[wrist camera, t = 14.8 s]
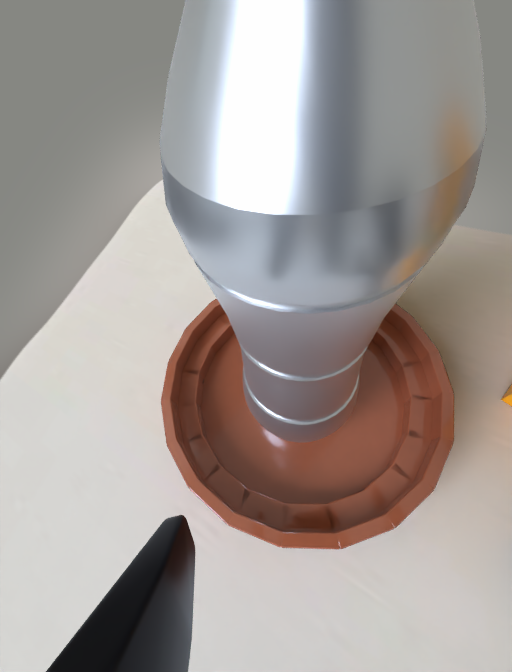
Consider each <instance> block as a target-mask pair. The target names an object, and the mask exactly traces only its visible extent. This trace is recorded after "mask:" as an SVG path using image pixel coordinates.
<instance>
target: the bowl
mask: <svg viewBox="0 0 512 672" xmlns="http://www.w3.org/2000/svg"><path fill="white" fill-rule="evenodd" d="M453 393H454V392H453V389H452V386H451V384H450V381H449V378H448V375H447V372H446V370H445V367H444V364H443V361H442V358H441V356H440V353H439V351H438V349H437V348H436V346H435V345H434V344H433V342H432V341H431V340H430V339H429V337H428V336H427V335H426V333H425V332H424V331H423V329H422V328H421V327H420V325H419V324H418V323H417V321H416V320H415V319H414V317H412V316H411V315H410V314H409V313H407V312H406V311H405V310H404V309H402V308H401V307H400V306H398V305H397V304H396V303H395V305H394V306H393V307H392V308H391V310H390V311H389V312H388V314H387V315H386V316H385V317H384V319H383V321H382V322H381V324H380V326H379V328H378V330H377V331H376V333H375V335H374V337H373V339H372V340H371V342H370V344H369V345H368V347H367V349H366V351H365V353H364V355H363V359H362V363H361V367H360V371H359V389H358V395H357V399H356V404H355V406H354V409H353V411H352V413H351V415H350V416H349V418H348V419H347V420H346V422H345V423H344V424H343V425H342V426H341V427H340V428H339V429H338V430H336V431H335V432H334V433H332V434H330V435H328V436H326V437H324V438H322V439H319V440H315V441H312V442H300V443H298V442H292V441H287V440H285V439H282V438H279V437H277V436H276V435H274V434H273V433H271V432H269V431H268V430H266V429H265V428H264V427H263V426H262V425H261V424H260V423H259V422H258V421H257V420H256V419H255V417H254V416H253V414H252V413H251V412H250V410H249V407H248V405H247V402H246V400H245V395H244V390H243V359H242V352H241V347H240V344H239V342H238V340H237V337H236V335H235V332H234V330H233V328H232V325H231V323H230V321H229V318H228V316H227V314H226V313H225V311H224V309H223V308H222V306H221V305H220V303H219V301H218V300H217V299H215V300H214V301H212V302H211V303H209V305H208V306H207V307H206V308H205V309H204V310H203V311H202V312H201V313H200V314H199V315H198V316H197V317H196V318H195V319H194V320H193V321H192V322H191V323H190V324H189V325H188V326H187V328H186V329H185V331H184V333H183V334H182V336H181V338H180V340H179V342H178V344H177V346H176V348H175V350H174V352H173V353H172V355H171V357H170V359H169V362H168V366H167V371H166V376H165V382H164V387H163V392H162V398H161V406H162V413H163V421H164V428H165V436H166V443H167V447H168V449H169V451H170V452H171V454H172V456H173V458H174V460H175V462H176V464H177V466H178V468H179V470H180V472H181V474H182V476H183V478H184V480H185V482H186V484H187V486H188V488H189V489H190V490H191V491H192V492H193V493H194V494H195V495H196V496H197V497H198V498H199V499H201V500H202V501H203V502H204V503H205V504H206V505H207V506H208V507H209V508H210V509H211V510H212V511H213V512H214V513H215V514H216V515H217V516H218V517H220V518H221V519H222V520H223V521H224V522H225V523H226V524H228V525H229V526H231V527H233V528H235V529H238V530H240V531H242V532H245V533H247V534H250V535H252V536H254V537H257V538H259V539H261V540H264V541H266V542H268V543H271V544H273V545H275V546H278V547H282V548H307V549H343V548H346V547H348V546H351V545H353V544H356V543H359V542H361V541H364V540H366V539H369V538H372V537H374V536H377V535H380V534H382V533H385V532H387V531H390V530H393V529H394V528H396V527H397V526H398V525H399V524H400V523H401V522H402V521H403V520H404V519H405V518H406V517H407V516H408V515H409V514H410V513H411V512H412V511H413V510H414V509H415V508H417V507H418V506H419V505H420V504H421V503H422V502H423V501H424V500H425V499H426V498H427V497H428V496H429V495H430V494H431V493H432V492H433V491H434V489H435V487H436V485H437V482H438V480H439V477H440V475H441V472H442V470H443V467H444V465H445V463H446V460H447V458H448V455H449V453H450V450H451V448H452V445H453V442H454V394H453Z"/></svg>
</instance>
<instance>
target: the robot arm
mask: <svg viewBox="0 0 512 672" xmlns="http://www.w3.org/2000/svg"><path fill="white" fill-rule="evenodd" d="M194 574H195V545H194V541H193V538H192V535H191V532H190V529H189V526H188V523H187V520H186V518H185V517H184V516H183V515H179V516H175V517H171V518H168V519H166V520H165V521H164V522H163V523H162V524H161V525H160V527H159V528H158V529H157V531H156V532H155V533H154V534H153V536H152V537H151V538H150V539H149V541H148V542H147V543H146V545H145V546H144V547H143V548H142V550H141V551H140V552H139V553H138V555H137V556H136V557H135V559H134V560H133V561H132V562H131V564H130V565H129V566H128V568H127V569H126V570H125V571H124V573H123V574H122V575H121V576H120V578H119V579H118V580H117V582H116V583H115V584H114V585H113V587H112V588H111V589H110V591H109V592H108V593H107V594H106V596H105V597H104V598H103V599H102V601H101V602H100V603H99V605H98V606H97V607H96V608H95V610H94V611H93V612H92V614H91V615H90V616H89V617H88V619H87V620H86V621H85V622H84V624H83V625H82V626H81V628H80V629H79V630H78V631H77V633H76V634H75V635H74V637H73V638H72V639H71V640H70V642H69V643H68V644H67V645H66V647H65V648H64V649H63V651H62V652H61V653H60V654H59V656H58V657H57V658H56V659H55V661H54V662H53V663H52V665H51V666H50V667H49V668H48V670H47V671H46V672H188V666H189V659H190V649H191V639H192V621H193V598H194Z"/></svg>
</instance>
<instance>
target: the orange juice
mask: <svg viewBox="0 0 512 672" xmlns="http://www.w3.org/2000/svg"><path fill="white" fill-rule="evenodd" d="M501 400H502V401H504V402H506V403H507V404H509V405H510V406H512V385H511V386H510V388H509V389H508V390H507V392H506V393H505V395H504V396H503V397H502V399H501Z"/></svg>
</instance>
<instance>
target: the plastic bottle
mask: <svg viewBox="0 0 512 672" xmlns="http://www.w3.org/2000/svg"><path fill="white" fill-rule="evenodd" d="M483 79H484V78H483V64H482V51H481V37H480V32H479V27H478V21H477V16H476V10H475V5H474V0H185V5H184V9H183V14H182V18H181V22H180V27H179V31H178V36H177V40H176V45H175V49H174V53H173V58H172V62H171V66H170V71H169V76H168V83H167V90H166V97H165V105H164V112H163V120H162V128H161V134H160V154H161V163H162V173H163V182H164V191H165V201H166V206H167V208H168V210H169V213H170V215H171V217H172V220H173V222H174V224H175V226H176V228H177V230H178V232H179V234H180V236H181V238H182V240H183V242H184V244H185V246H186V248H187V250H188V252H189V254H190V255H191V257H192V258H193V259H194V261H195V263H196V265H197V267H198V268H199V270H200V272H201V273H202V275H203V277H204V278H205V280H206V282H207V283H208V285H209V286H210V288H211V290H212V291H213V293H214V295H215V296H216V298H217V300H218V301H219V303H220V305H221V306H222V308H223V309H224V311H225V313H226V314H227V316H228V318H229V321H230V323H231V325H232V328H233V330H234V332H235V335H236V337H237V340H238V342H239V344H240V347H241V352H242V359H243V390H244V395H245V400H246V402H247V405H248V407H249V410H250V412H251V413H252V414H253V416H254V417H255V419H256V420H257V421H258V422H259V423H260V424H261V425H262V426H263V427H264V428H265V429H266V430H268V431H269V432H271V433H273V434H274V435H276V436H277V437H279V438H282V439H285V440H287V441H292V442H298V443H300V442H312V441H315V440H319V439H322V438H324V437H326V436H328V435H330V434H332V433H334V432H335V431H336V430H338V429H339V428H340V427H341V426H342V425H343V424H344V423H345V422H346V420H347V419H348V418H349V416H350V415H351V413H352V411H353V409H354V406H355V404H356V399H357V395H358V389H359V371H360V367H361V363H362V359H363V355H364V353H365V351H366V349H367V347H368V345H369V344H370V342H371V340H372V339H373V337H374V335H375V333H376V331H377V330H378V328H379V326H380V324H381V322H382V321H383V319H384V317H385V316H386V315H387V314H388V312H389V311H390V310H391V308H392V307H393V306H394V305H395V303H396V302H397V301H398V299H399V298H400V297H401V296H402V294H403V293H404V292H405V290H406V289H407V288H408V287H409V285H410V284H411V283H412V281H413V280H414V279H415V278H416V276H417V275H418V274H419V272H420V271H421V270H422V268H423V267H424V266H425V265H426V263H427V262H428V261H429V259H430V258H431V257H432V256H433V254H434V253H435V252H436V251H437V250H438V248H439V247H440V246H441V244H442V243H443V241H444V240H445V238H446V236H447V235H448V233H449V232H450V230H451V229H452V227H453V225H454V224H455V222H456V221H457V219H458V218H459V216H460V215H461V213H462V212H463V211H464V209H465V208H466V205H467V203H468V200H469V198H470V195H471V192H472V190H473V188H474V184H475V179H476V175H477V170H478V166H479V161H480V156H481V152H482V147H483V142H484V137H485V133H486V106H485V92H484V80H483Z"/></svg>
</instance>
